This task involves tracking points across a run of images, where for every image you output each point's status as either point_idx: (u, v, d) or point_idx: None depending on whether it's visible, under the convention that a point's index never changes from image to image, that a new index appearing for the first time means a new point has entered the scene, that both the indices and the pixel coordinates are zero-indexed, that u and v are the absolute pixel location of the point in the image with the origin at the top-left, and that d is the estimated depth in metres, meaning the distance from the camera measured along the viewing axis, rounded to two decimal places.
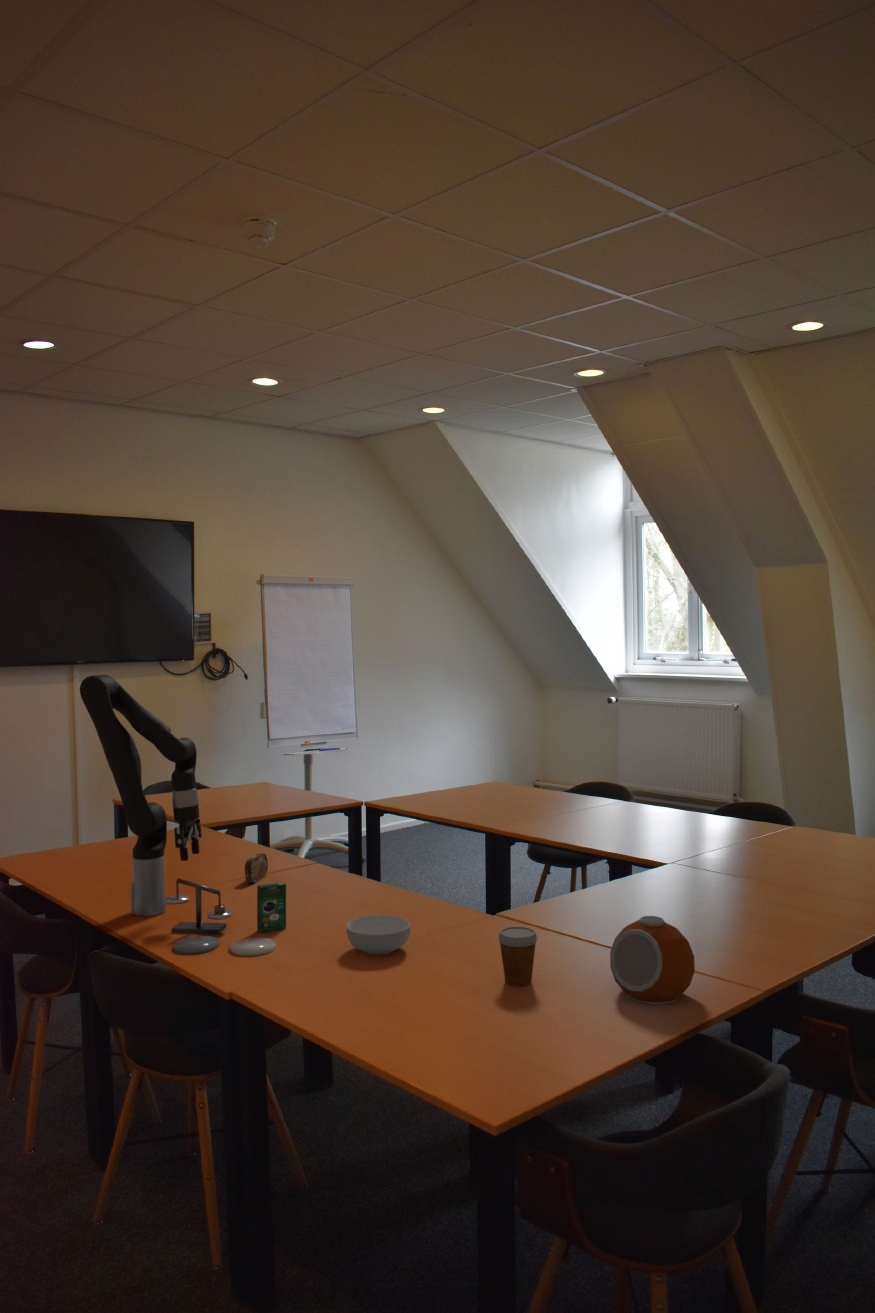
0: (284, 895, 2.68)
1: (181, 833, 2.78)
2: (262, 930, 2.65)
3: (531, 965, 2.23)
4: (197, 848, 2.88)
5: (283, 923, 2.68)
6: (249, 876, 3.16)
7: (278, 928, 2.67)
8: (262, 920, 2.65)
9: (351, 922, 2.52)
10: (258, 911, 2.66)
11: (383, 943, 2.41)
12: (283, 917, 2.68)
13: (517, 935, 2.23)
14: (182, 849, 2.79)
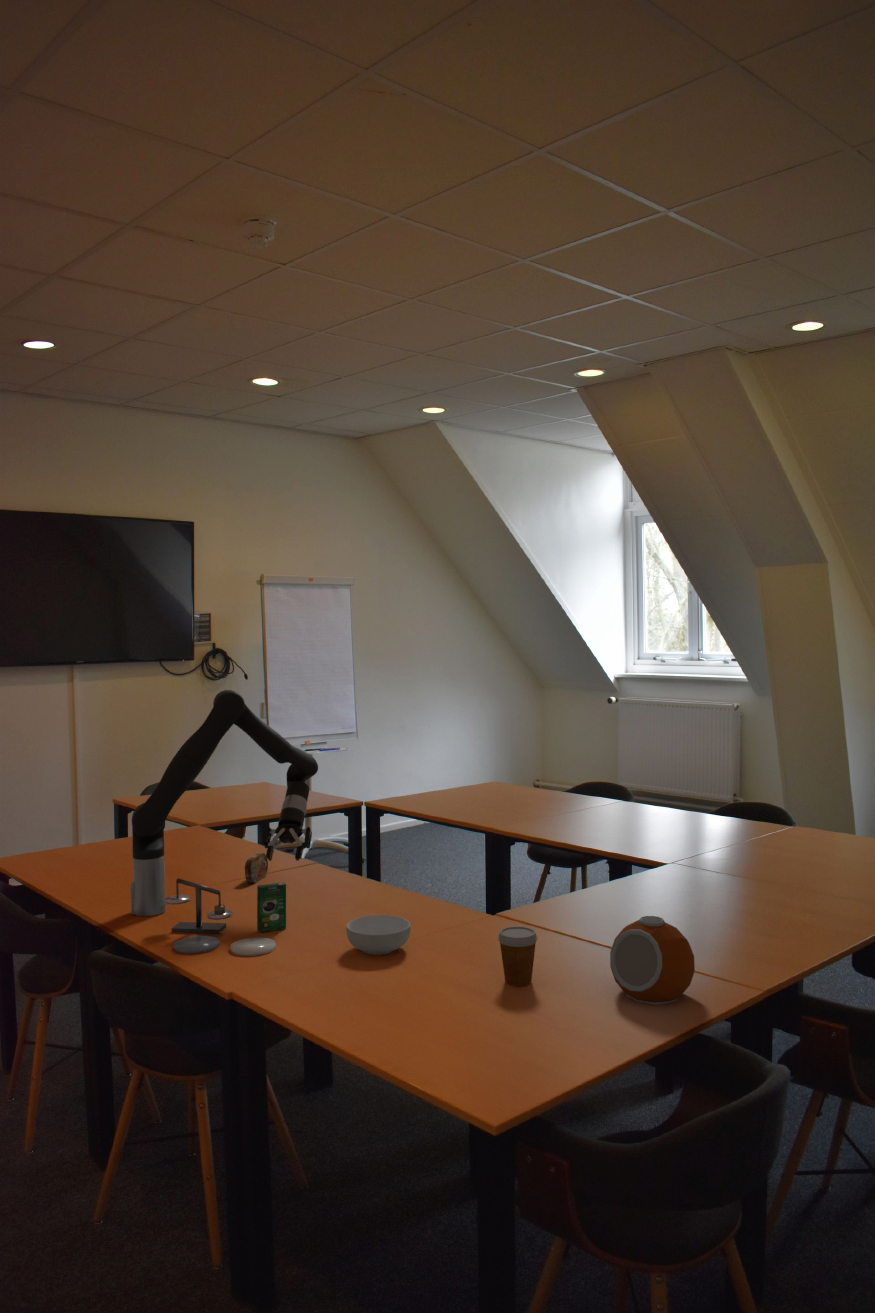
0: (284, 895, 2.68)
1: (311, 835, 2.84)
2: (262, 930, 2.65)
3: (531, 965, 2.23)
4: (272, 855, 2.81)
5: (283, 923, 2.68)
6: (249, 875, 3.16)
7: (278, 928, 2.67)
8: (262, 920, 2.65)
9: (351, 922, 2.52)
10: (258, 911, 2.66)
11: (383, 943, 2.41)
12: (283, 917, 2.68)
13: (517, 935, 2.23)
14: (302, 849, 2.80)
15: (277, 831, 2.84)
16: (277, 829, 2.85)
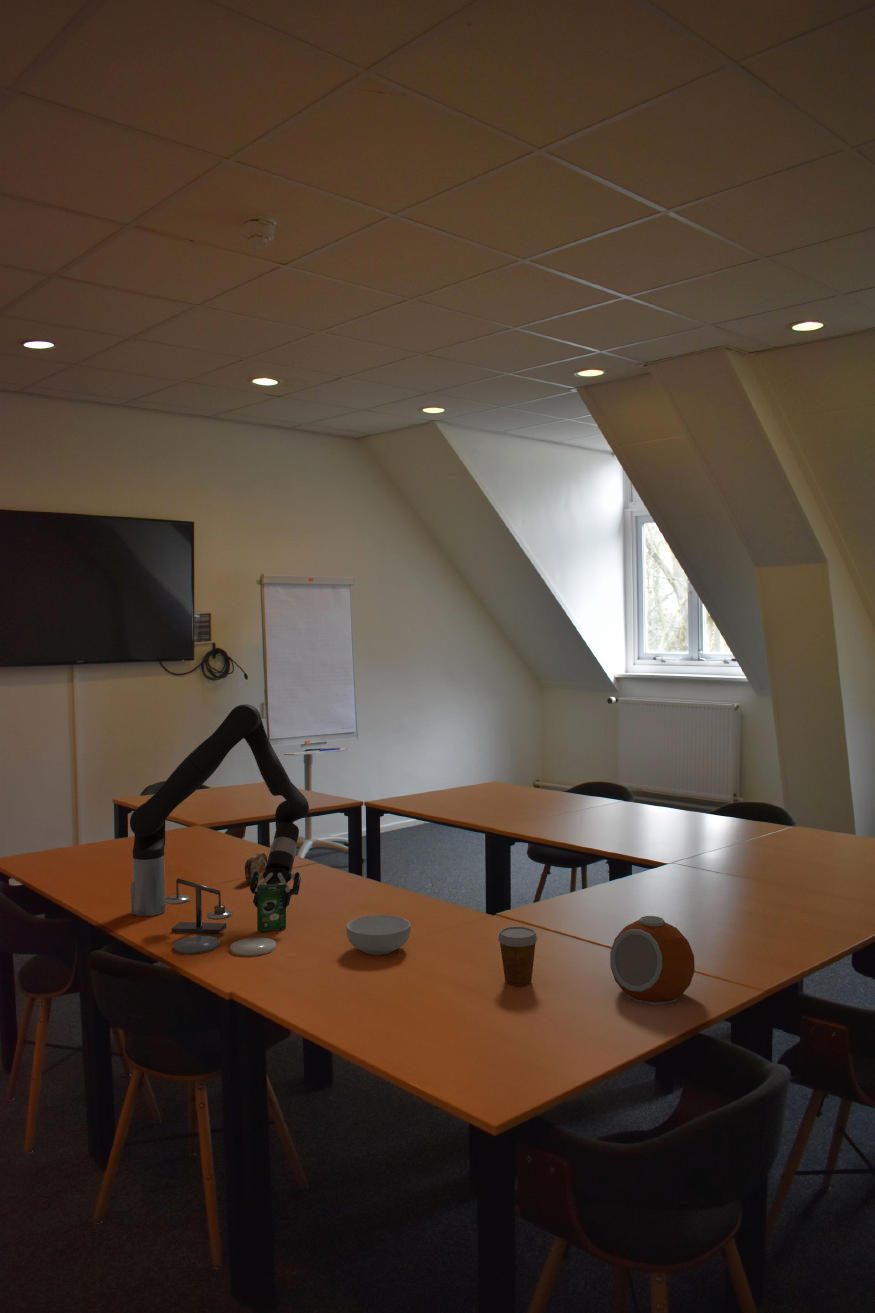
0: None
1: (299, 881, 2.72)
2: (262, 930, 2.65)
3: (531, 965, 2.23)
4: None
5: (283, 923, 2.68)
6: (249, 876, 3.16)
7: (278, 928, 2.67)
8: (262, 920, 2.65)
9: (351, 922, 2.52)
10: (258, 911, 2.66)
11: (383, 943, 2.41)
12: (283, 917, 2.68)
13: (517, 935, 2.23)
14: (290, 895, 2.68)
15: (265, 875, 2.72)
16: (265, 873, 2.73)
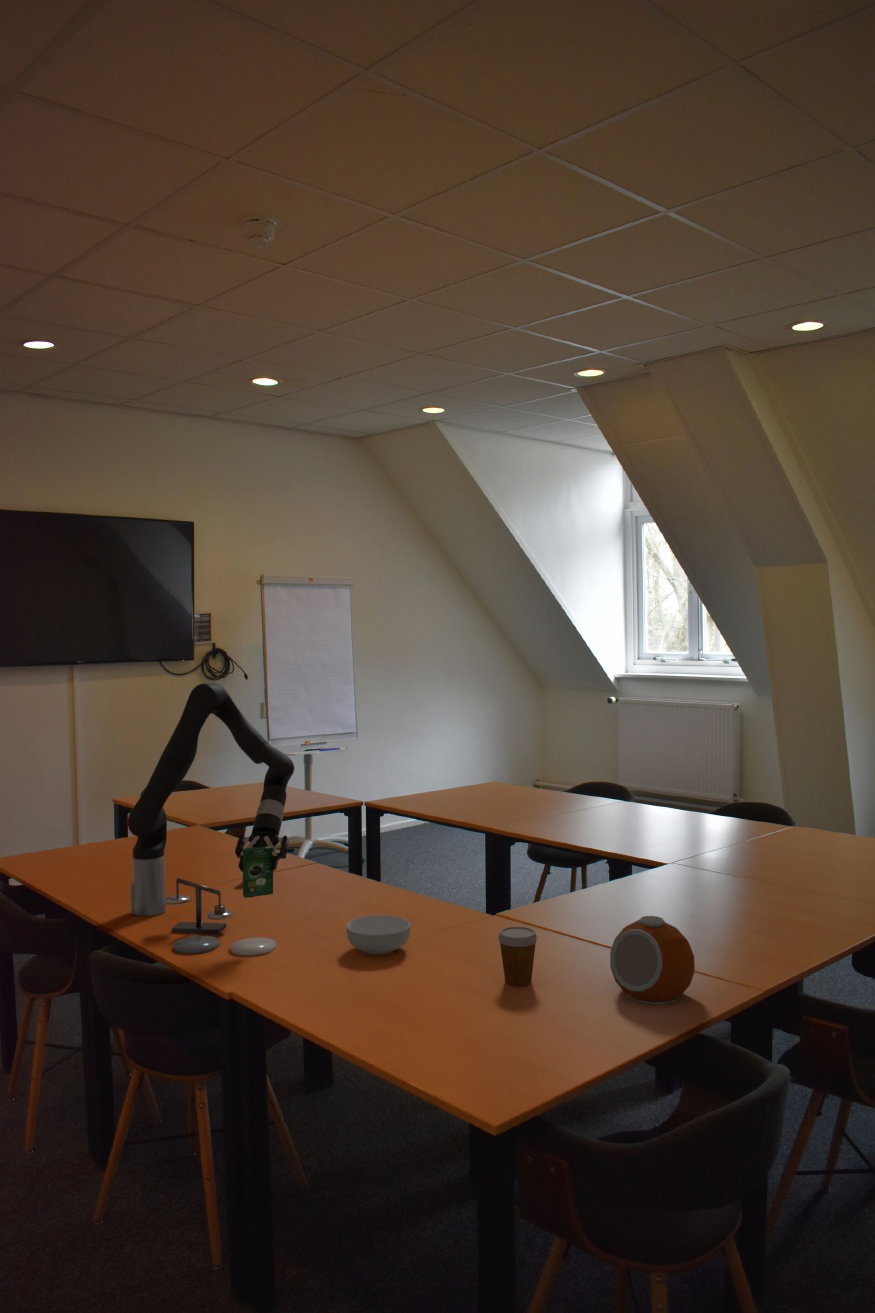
0: None
1: (287, 845, 2.60)
2: (248, 895, 2.53)
3: (531, 965, 2.23)
4: None
5: (270, 888, 2.56)
6: None
7: (265, 893, 2.55)
8: (248, 884, 2.53)
9: (351, 922, 2.52)
10: (244, 875, 2.54)
11: (383, 943, 2.41)
12: (270, 882, 2.56)
13: (517, 935, 2.23)
14: (277, 859, 2.56)
15: (251, 839, 2.60)
16: (251, 837, 2.61)
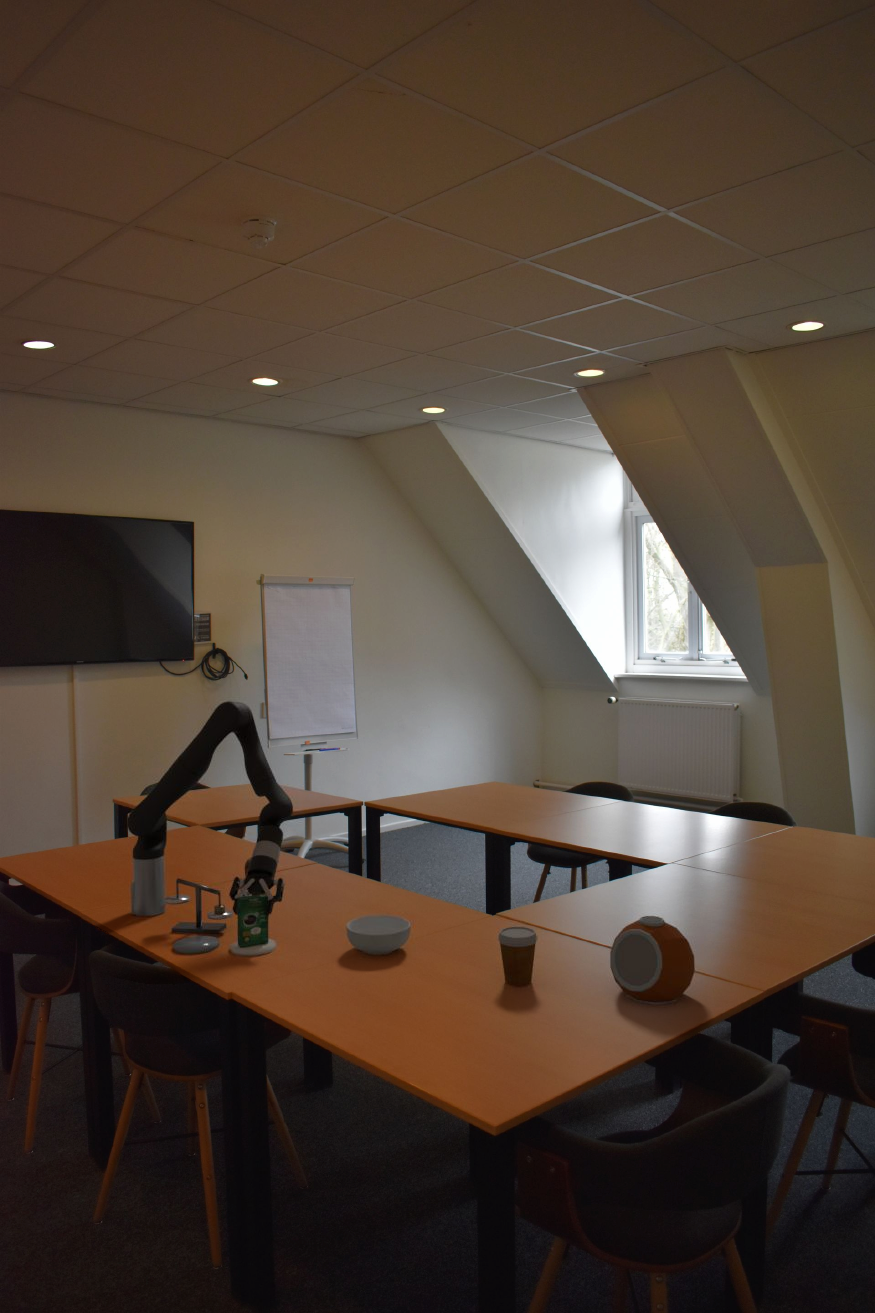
0: None
1: (283, 887, 2.57)
2: (243, 945, 2.49)
3: (531, 965, 2.23)
4: None
5: (265, 937, 2.52)
6: None
7: (260, 942, 2.52)
8: (243, 934, 2.49)
9: (351, 922, 2.52)
10: (239, 924, 2.50)
11: (383, 943, 2.41)
12: (265, 931, 2.52)
13: (517, 935, 2.23)
14: (273, 902, 2.53)
15: (246, 882, 2.57)
16: (246, 879, 2.57)
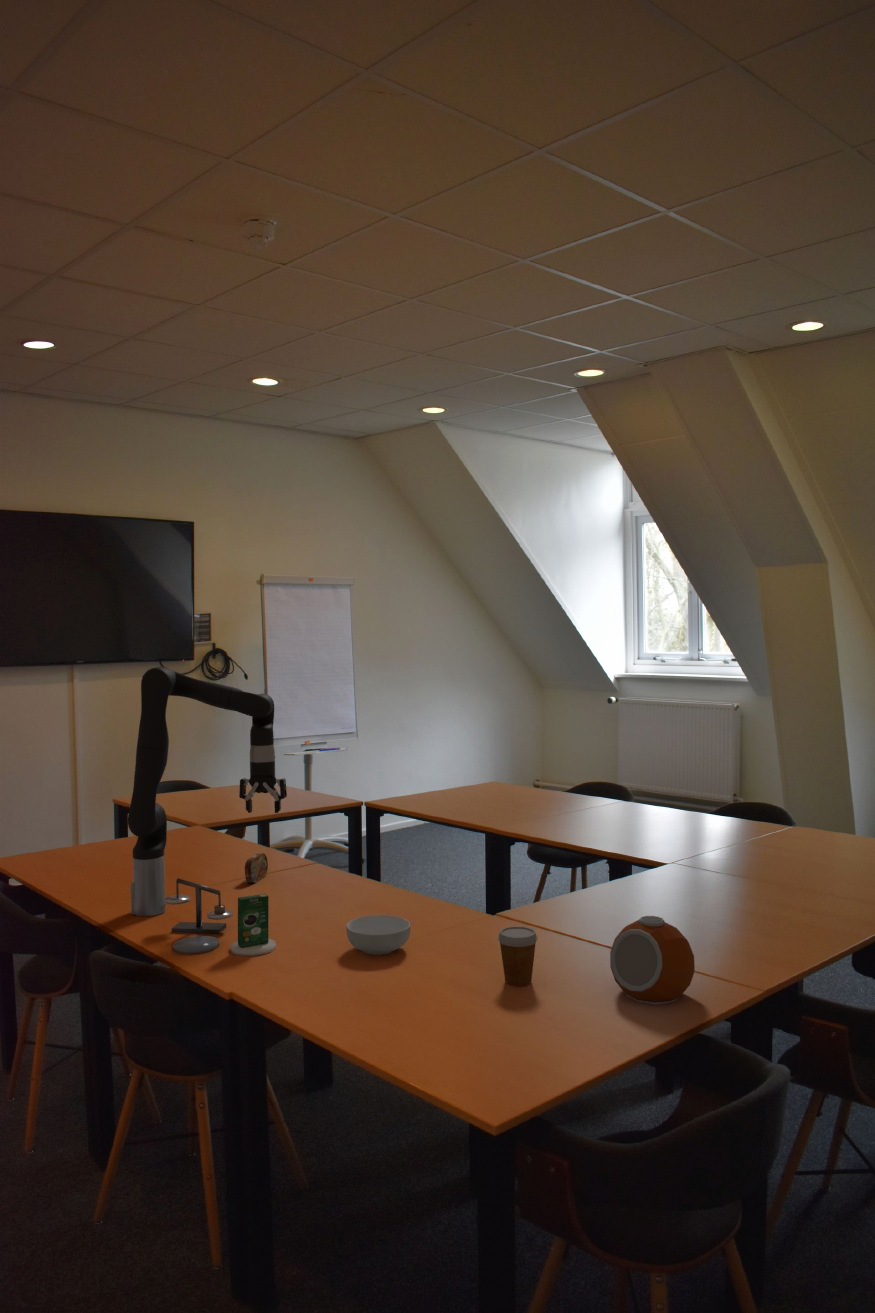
0: (266, 907, 2.53)
1: (285, 783, 2.86)
2: (243, 945, 2.49)
3: (531, 965, 2.23)
4: (251, 806, 2.87)
5: (265, 937, 2.52)
6: (249, 875, 3.16)
7: (260, 943, 2.52)
8: (243, 934, 2.49)
9: (351, 922, 2.52)
10: (239, 925, 2.50)
11: (383, 943, 2.41)
12: (265, 931, 2.52)
13: (517, 935, 2.23)
14: (280, 800, 2.85)
15: (251, 783, 2.85)
16: (250, 781, 2.85)
